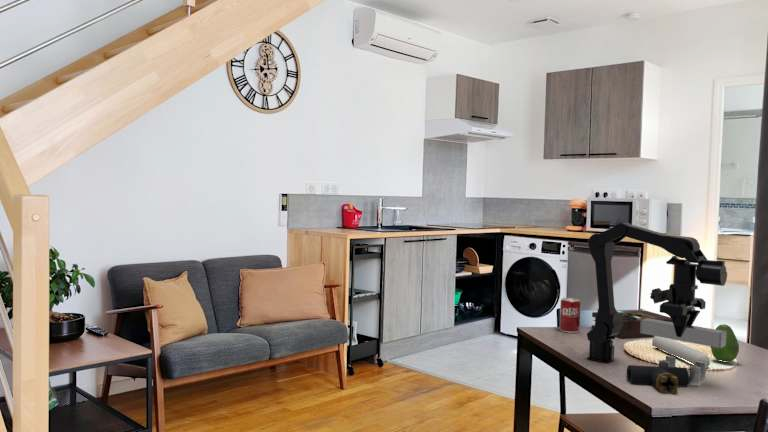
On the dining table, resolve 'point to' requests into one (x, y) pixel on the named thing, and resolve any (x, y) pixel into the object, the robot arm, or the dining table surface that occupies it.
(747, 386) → the dining table surface
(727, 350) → the avocado
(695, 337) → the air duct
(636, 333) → the brown flat box
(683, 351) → the tube
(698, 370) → the collar rail
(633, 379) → the pipe connector
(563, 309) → the soda can
